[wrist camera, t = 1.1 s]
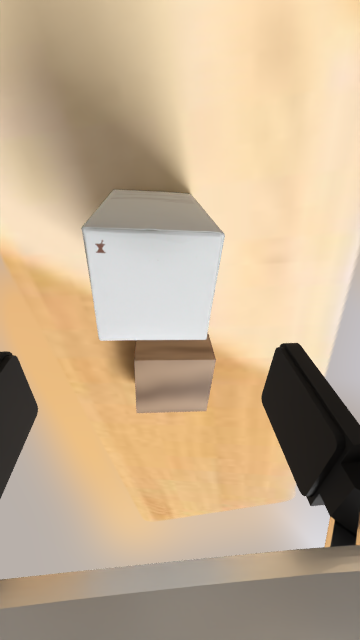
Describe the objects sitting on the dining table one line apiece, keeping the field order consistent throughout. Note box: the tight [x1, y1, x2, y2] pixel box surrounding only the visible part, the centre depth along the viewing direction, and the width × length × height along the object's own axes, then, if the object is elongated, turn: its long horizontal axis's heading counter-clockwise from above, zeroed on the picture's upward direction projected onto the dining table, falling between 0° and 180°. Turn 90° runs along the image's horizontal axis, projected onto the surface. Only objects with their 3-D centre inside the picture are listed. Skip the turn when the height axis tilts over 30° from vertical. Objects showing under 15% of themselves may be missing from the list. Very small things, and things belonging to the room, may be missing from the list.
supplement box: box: [82, 189, 225, 341], centre depth 20 cm, size 7×7×13 cm
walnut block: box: [134, 334, 216, 413], centre depth 33 cm, size 9×9×5 cm
